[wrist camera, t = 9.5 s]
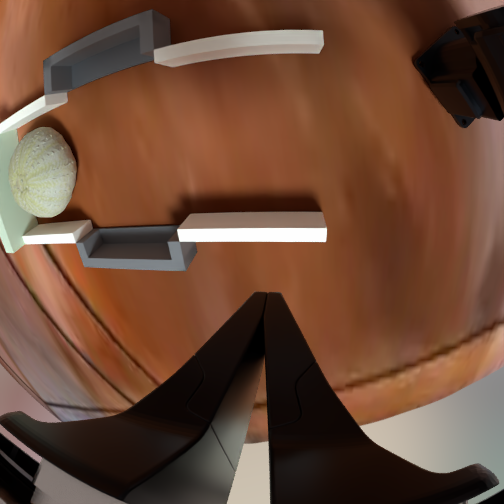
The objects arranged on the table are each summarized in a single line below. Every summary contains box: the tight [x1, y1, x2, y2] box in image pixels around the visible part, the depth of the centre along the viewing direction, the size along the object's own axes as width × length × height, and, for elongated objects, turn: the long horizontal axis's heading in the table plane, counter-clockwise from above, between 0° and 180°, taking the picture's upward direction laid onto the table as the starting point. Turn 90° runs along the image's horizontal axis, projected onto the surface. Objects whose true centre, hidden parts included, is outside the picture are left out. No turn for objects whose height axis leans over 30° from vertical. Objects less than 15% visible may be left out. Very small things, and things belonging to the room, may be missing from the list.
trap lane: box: [0, 9, 327, 271], centre depth 18 cm, size 31×20×3 cm, turn 95°
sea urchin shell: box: [8, 127, 77, 218], centre depth 20 cm, size 9×8×8 cm
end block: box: [0, 129, 38, 253], centre depth 20 cm, size 2×14×5 cm, turn 5°
